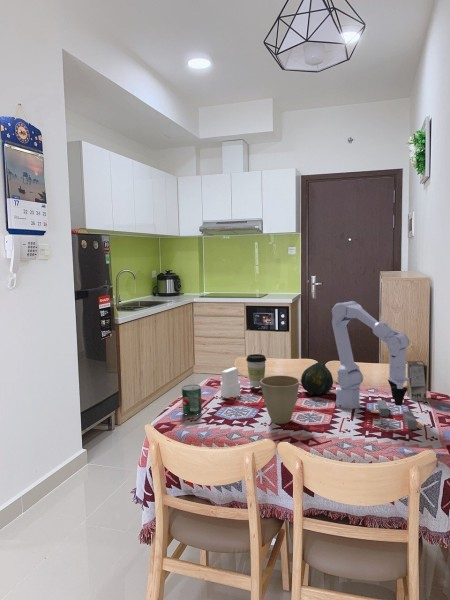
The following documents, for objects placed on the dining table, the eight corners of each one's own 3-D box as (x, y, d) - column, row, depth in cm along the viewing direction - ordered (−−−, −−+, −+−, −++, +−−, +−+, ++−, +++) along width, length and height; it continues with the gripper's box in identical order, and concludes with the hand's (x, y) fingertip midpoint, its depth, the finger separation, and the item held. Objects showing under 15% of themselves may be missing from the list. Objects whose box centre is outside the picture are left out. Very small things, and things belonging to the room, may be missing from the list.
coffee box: (427, 403, 191) (427, 366, 189) (410, 403, 192) (410, 365, 191) (422, 396, 200) (422, 360, 198) (406, 396, 201) (406, 360, 200)
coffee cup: (245, 389, 220) (244, 358, 219) (248, 383, 230) (247, 353, 229) (266, 389, 219) (265, 358, 217) (267, 383, 228) (266, 353, 227)
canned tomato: (178, 413, 190) (177, 387, 189) (192, 408, 196) (191, 383, 195) (192, 417, 185) (190, 391, 184) (205, 412, 190) (204, 386, 189)
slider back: (380, 416, 176) (380, 408, 175) (377, 407, 185) (377, 400, 185) (388, 416, 175) (388, 408, 175) (385, 407, 185) (385, 400, 184)
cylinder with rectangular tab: (228, 391, 218) (227, 366, 217) (244, 393, 213) (243, 368, 212) (217, 396, 211) (216, 370, 210) (233, 399, 206) (232, 373, 205)
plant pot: (254, 417, 182) (253, 378, 181) (287, 411, 188) (286, 373, 186) (273, 430, 169) (272, 388, 167) (307, 423, 174) (306, 382, 173)
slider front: (407, 429, 162) (407, 420, 162) (403, 418, 172) (403, 411, 172) (416, 429, 162) (416, 421, 161) (411, 419, 171) (411, 411, 171)
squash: (292, 384, 207) (313, 360, 203) (298, 376, 221) (319, 354, 217) (315, 406, 204) (338, 383, 200) (321, 397, 218) (342, 375, 214)
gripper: (412, 371, 162) (411, 409, 164) (405, 361, 176) (405, 396, 178) (391, 371, 164) (390, 408, 165) (386, 361, 178) (386, 395, 179)
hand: (397, 401), depth 171 cm, fingers open, 7 cm apart
